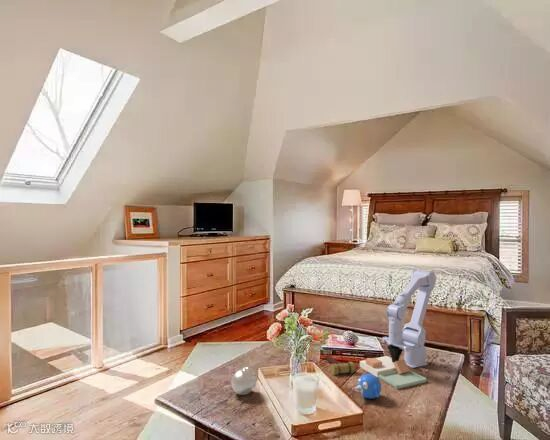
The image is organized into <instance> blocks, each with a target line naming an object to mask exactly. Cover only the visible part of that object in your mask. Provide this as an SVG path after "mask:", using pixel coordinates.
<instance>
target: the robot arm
mask: <svg viewBox="0 0 550 440" xmlns="http://www.w3.org/2000/svg"><path fill="white" fill-rule="evenodd" d="M436 282H437V276H436V273H435V272H434V271H428V270H421V269H416V268H415V269H413V270H412V271H411V274H410V281H409V283H408V284H407V286H406V288H405V290H404V291H402V292H400V293H399V294H398V296H396V299H395V300H394V301H393V303H391V304H389V305H388V306H387V308H386V310H385V314H386V315H387V320H388V336H383V337H382V342H384V343H386V344H387V347H386V348H387V349H388V351H389V353H390V358H392V362H393V363H394V362H395V361H399V359H400V356H401V354H402V353H403V351H404V357H403V358H404V359H403V360H405V362H406V364H407V366H408V367H410V368H412V369H414V368H418V367H424V366H427V365H428V363H427V348H426V346H425V343H426V335H427V331H426V329H425V328H424V327H423V323H424V320H425V319H424V318H425V315H426V312H427V308H428V305H429V301H430V298H431V293H432V292H433V291H434V289H435V286H436ZM417 290H418V294H417V297H416V301H415V305H414V307H413V311H412V315H411V318H410V322H407V323H405V324H404V326H403V322H404V318H405V317H406V314H407V311H408V310H407V308H408V307H409V305H410V304H411V302H412V300H413V299H412V296H413V295H414V294H415V293H416V291H417Z"/></svg>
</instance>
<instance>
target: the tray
mask: <svg viewBox="0 0 550 440" xmlns="http://www.w3.org/2000/svg"><path fill="white" fill-rule="evenodd" d="M409 370H410V371H409V372H407V373H402V374H398V372H397V370H395V371H390V372H386V373H381V374H378V377H377V378H378V379H379V380H381V381H383V382H384V383H386V384H388V385H389V386H391V387H393V388H394V389H396V390H401V389H405V388H409V387H414V386H418V385H422V384H425V383H428V378H427V377H425V376H423V375H421V374H419V373H418V372H415V371H414V370H412V369H409Z"/></svg>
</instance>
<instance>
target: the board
mask: <svg viewBox="0 0 550 440" xmlns="http://www.w3.org/2000/svg"><path fill="white" fill-rule="evenodd" d="M375 358H376V359H378V360H380V361H382V366H381V367H376V368H372V367H370V366H369V365H367V364H366V359H365V360H363V359H362V360H359V367H360V368H361V369H362V370H365V371H366V372H368V374H373V375H375V376H376V377H377V378H378V374H381V373H386V372H390V371H395V370H396V368H395V366H394V364H393V362H392V358H391V356H388V355H385V356H384V355H383V356H380V357H375Z"/></svg>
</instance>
